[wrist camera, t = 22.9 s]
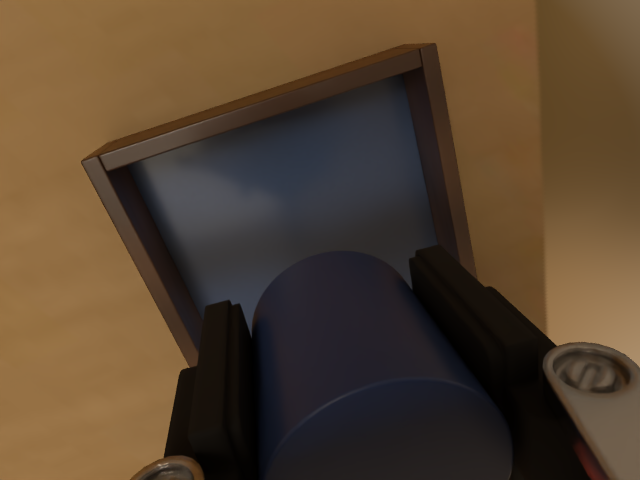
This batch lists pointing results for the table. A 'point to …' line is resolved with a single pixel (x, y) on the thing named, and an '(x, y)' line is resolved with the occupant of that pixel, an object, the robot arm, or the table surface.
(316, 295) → the blue mallet
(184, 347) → the tray
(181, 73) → the table surface
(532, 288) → the table surface
